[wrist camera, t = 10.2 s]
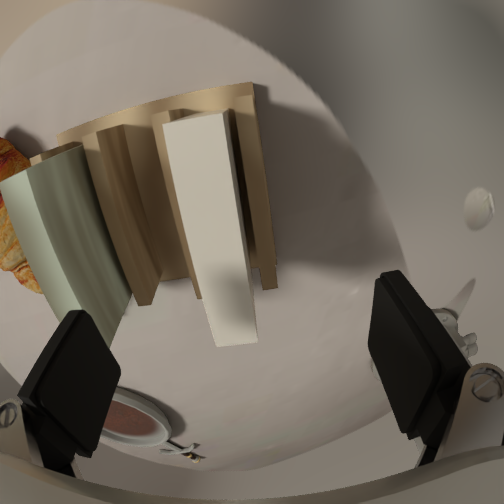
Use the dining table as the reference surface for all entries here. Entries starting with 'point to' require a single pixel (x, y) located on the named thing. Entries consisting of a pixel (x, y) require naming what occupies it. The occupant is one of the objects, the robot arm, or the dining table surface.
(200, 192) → the white rectangular slab
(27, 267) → the croissant
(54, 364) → the robot arm
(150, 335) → the dining table surface
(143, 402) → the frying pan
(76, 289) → the rack
